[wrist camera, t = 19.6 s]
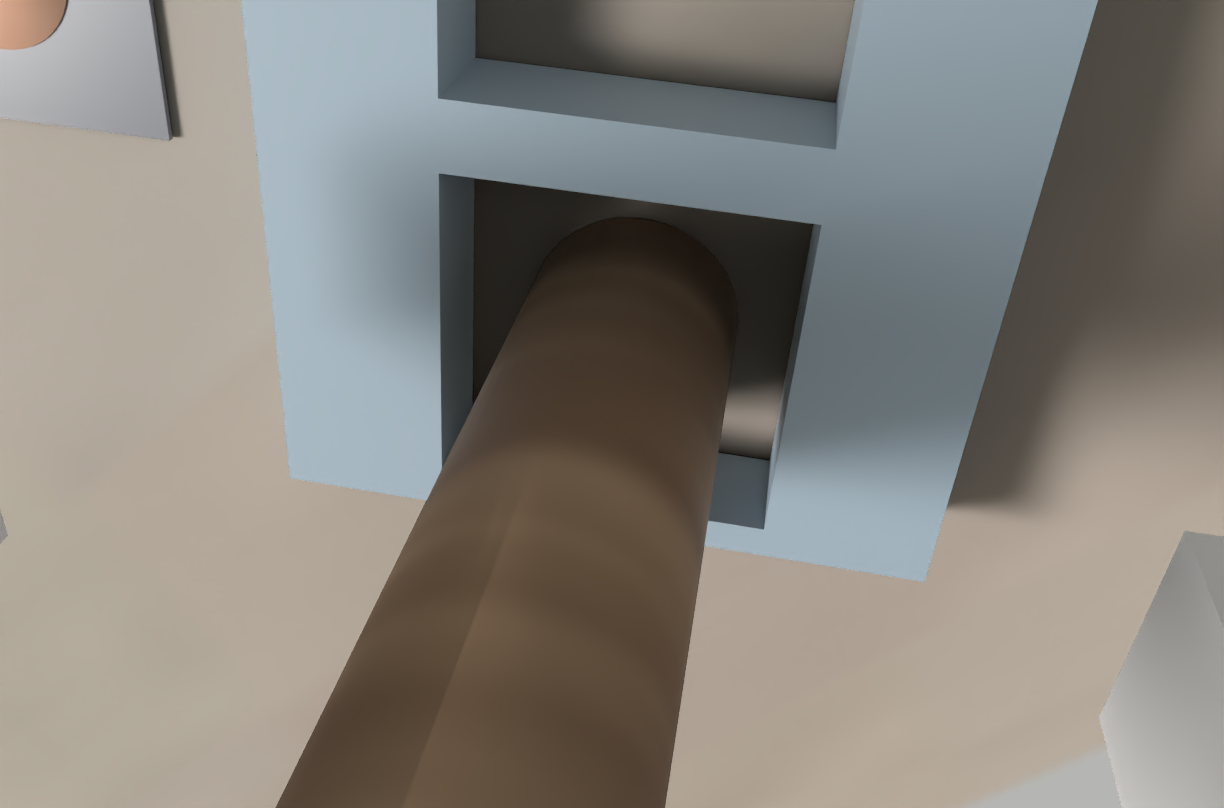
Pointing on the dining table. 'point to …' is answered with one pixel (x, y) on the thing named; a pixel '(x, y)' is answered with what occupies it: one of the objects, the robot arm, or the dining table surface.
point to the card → (83, 66)
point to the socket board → (676, 175)
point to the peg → (550, 554)
